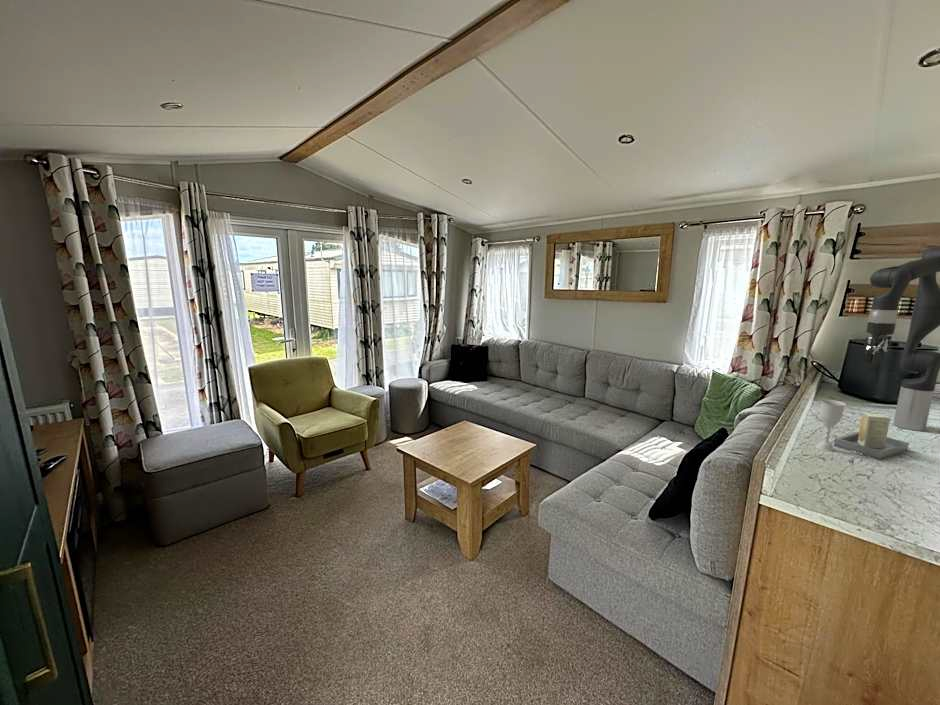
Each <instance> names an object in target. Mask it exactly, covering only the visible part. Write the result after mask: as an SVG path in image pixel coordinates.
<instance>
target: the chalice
mask: <svg viewBox="0 0 940 705" xmlns="http://www.w3.org/2000/svg"><path fill="white" fill-rule="evenodd" d="M820 403H821V405H820V410H819V413H820V418H821V420H822V423H823V425H824V426H826V429H825V430H824V432H825V434H823V437H824V440H821V441H819V442H818V443H817V445H816V446H815V447H816V448H817V449H819V450H821V451H825V452H834V451H835V449H834V446H833V444H832V443H831V442H830V441H829V439H830V438H831V435H830V433H831V428H833V427H835V426H836V425H837V424H838V423H839V422H840V421H841V420H842V417H843V413H844V409H845V406H847V404H846V403H845V402H843V401H839V400H834V399H826V398H825V399H820Z"/></svg>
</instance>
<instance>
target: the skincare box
mask: <svg viewBox="0 0 940 705" xmlns="http://www.w3.org/2000/svg"><path fill="white" fill-rule="evenodd" d="M890 419H891V417H889V416H887V415H885V414H883V413H871V412H870V413H867V412H862V413H861V419H860V424H859V430H858V432H859V436H858V442H857V443H858V444H860V445H862V446H866V447H869V448H879V449H885V444H886V438H887V437H888V431H889V428H890V427H889V426H890V422H891V421H890Z"/></svg>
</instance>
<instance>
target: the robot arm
mask: <svg viewBox="0 0 940 705" xmlns="http://www.w3.org/2000/svg"><path fill="white" fill-rule="evenodd" d="M939 272H940V246H933V247H928V248H927V249H925V250H924V252H923V254H922V256H921V258H920V259H913V260H911V261H908V262H904V263H902V264H900V265H894V266H889V267H884V268H883V267H882V268H879V269H877V270H875V271H874V272H873V273H872V274H871V276H870V279H869V283H870V285H872V286H873V287H875V288H882V289H883V288H886V289H887V288H888V289H889V290H888V292H886V293H880V294H876V295H874V296H873V298H872V303H871V310H870V312H869V314H868V319H867V324H866V325H867V326H866V334H871V335H870V336H866V337H865V340H864V344H863V349H862V352H863V353H864V354H865V358H864V360H863V361H864V364H868V365H869V364H870V365H871V364H873V363H874V360H875V362H878V363H882V362H883V363H884V362H885V357H886V353H887V352H889V351H890V347H891V343H892V335H894V334H895V331H896V325H897V321H898V320H897V319H898V310H899V305H900V301H901V298H902V296H903V295H904V292H905V291H906V289H907V288H908V286H909V285H910V283H911V281H914V280H916V279H917V280H918V286H917V291H916V295H915V299H914V300H915V301H914V304H913V308H912V314H911V317H910V318H911V319H910V325H909V330H908V333H907V334H908V336H907V339H906V342H905V345H904V349H903V351H902V352H903V353H902V356H901V359H900V368H901V370H903V371H905V372H912V373H920V374H925V375H924V376H922V377H917V378H916V377H915V378H907V379H903V380H902V381H901V385H900V390H899V394H898V398H897V404H896V408H895V414H894V418H893V423H892V424H893V426H895V427H898V428H900V429H905V430H910V431H915V432H916V431H917V432H922V431H923V432H924V431H926V428H927V424H928V419H929V415H930V410H931V407H932V401H933V397H934V394H935V393H934V392H935V388H936V384H937V379H938V375H939V372H940V352H937V351H929V350H928V351H927V350H917V348H918V346H919V344H920V343H921V342H922V340H924V339H925V338H926V337H928V335H929V334H931V333H932V332H933V331H935V330H936V329H937V328H938V327H940V286H939V284H938V281H937V273H939ZM875 354H876V357H875Z"/></svg>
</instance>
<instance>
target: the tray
mask: <svg viewBox="0 0 940 705" xmlns="http://www.w3.org/2000/svg"><path fill="white" fill-rule="evenodd" d="M858 436H859V431H857V432H853V433H849V434H846V435H842V436H839V437H835V438H834V442H833V447H836V448H839V447H840V448H839V449H842V448H844V449H843V450H846V449H848V450H847V451H849V450H852V451H856V452H859V453H862V454H865V455H868V456H870V457H869V458H871V457H873V458H872V459H875V458H876V460H878V461H882V460H884V459H887V458H890V456H891V457H893V456H897V455H900V454H902V453H905V452H908V449H909V445H910V442H907V441H903V440H899V439H896V438H891V437H888V436H887V438H886V444H885V449H879V448H869V447H866V446H862V445H860V444H858V443H857V442H858ZM852 451H851V452H852ZM859 453H858V454H859ZM862 454H861V455H862ZM865 455H864V456H865ZM868 456H867V457H868Z"/></svg>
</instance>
